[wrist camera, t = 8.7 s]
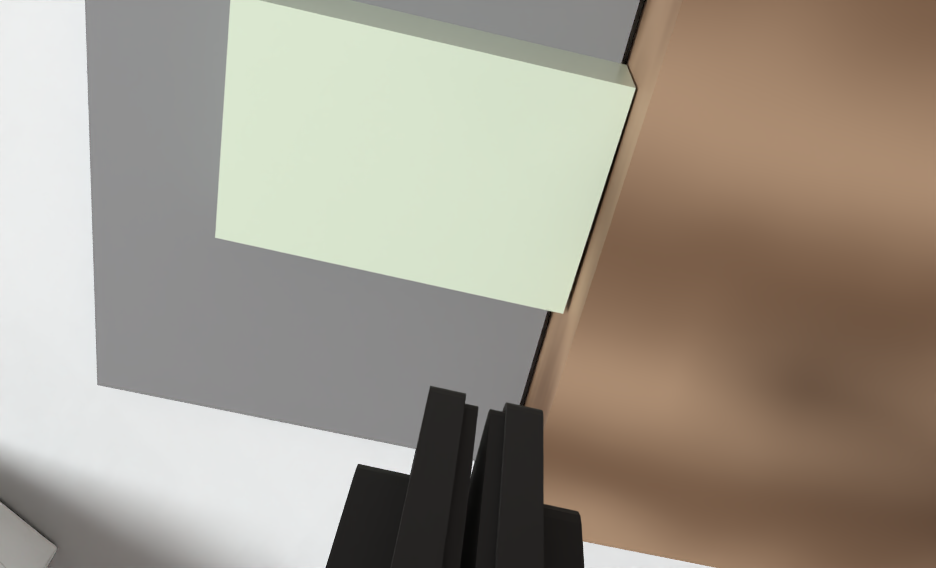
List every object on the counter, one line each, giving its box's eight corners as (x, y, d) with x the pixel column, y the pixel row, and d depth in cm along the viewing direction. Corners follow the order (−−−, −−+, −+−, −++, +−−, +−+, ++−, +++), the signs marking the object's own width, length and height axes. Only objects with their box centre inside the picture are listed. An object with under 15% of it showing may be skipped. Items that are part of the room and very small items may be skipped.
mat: (502, 455, 27) (501, 466, 26) (104, 375, 26) (97, 384, 26) (716, -270, 17) (721, -272, 16) (83, -423, 16) (71, -430, 16)
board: (873, 506, 27) (925, 609, 23) (514, 433, 26) (512, 526, 23) (1241, -84, 18) (1415, -62, 14) (708, -212, 17) (754, -221, 14)
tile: (560, 276, 23) (563, 314, 21) (239, 205, 22) (215, 237, 20) (626, 65, 20) (635, 88, 18) (257, -22, 19) (230, -7, 17)
